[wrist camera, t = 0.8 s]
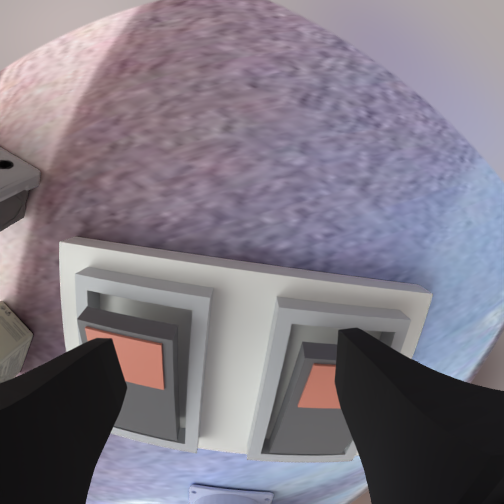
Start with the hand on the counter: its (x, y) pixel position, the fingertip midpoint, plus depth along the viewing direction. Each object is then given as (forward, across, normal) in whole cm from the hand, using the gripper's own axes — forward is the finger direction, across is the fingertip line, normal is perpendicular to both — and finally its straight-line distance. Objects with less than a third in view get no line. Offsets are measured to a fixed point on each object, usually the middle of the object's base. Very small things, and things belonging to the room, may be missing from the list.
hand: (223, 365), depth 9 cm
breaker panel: (+9, +1, +6) cm, 11 cm away
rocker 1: (+5, +6, +5) cm, 9 cm away
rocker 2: (+5, -5, +7) cm, 10 cm away
